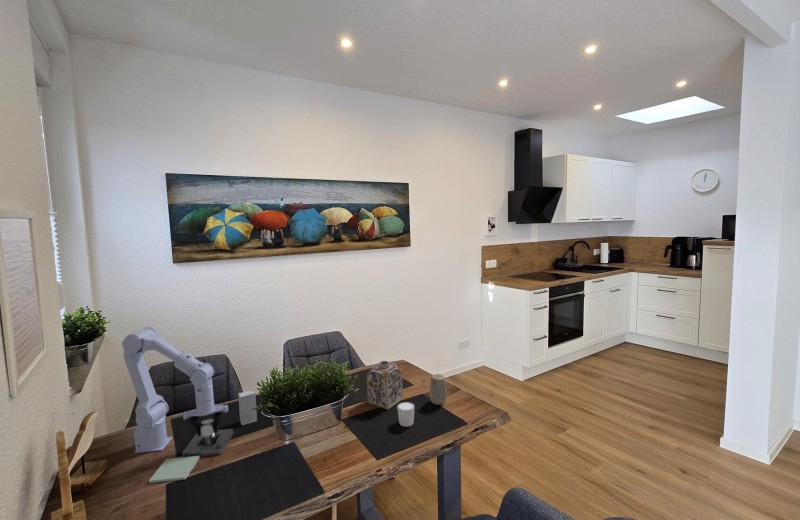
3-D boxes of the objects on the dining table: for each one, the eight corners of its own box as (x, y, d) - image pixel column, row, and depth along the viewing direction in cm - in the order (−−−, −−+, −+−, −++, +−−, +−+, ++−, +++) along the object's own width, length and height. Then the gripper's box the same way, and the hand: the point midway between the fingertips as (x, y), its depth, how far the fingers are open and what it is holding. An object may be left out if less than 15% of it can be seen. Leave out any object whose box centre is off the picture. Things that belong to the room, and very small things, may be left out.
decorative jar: (383, 392, 177) (382, 355, 175) (403, 399, 170) (402, 360, 168) (366, 403, 167) (365, 364, 165) (387, 410, 160) (386, 370, 158)
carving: (443, 407, 161) (442, 380, 160) (427, 403, 165) (426, 377, 164) (449, 401, 167) (448, 375, 166) (433, 397, 171) (433, 372, 169)
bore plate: (182, 457, 133) (182, 452, 132) (198, 436, 145) (197, 431, 145) (221, 454, 134) (220, 448, 134) (233, 433, 147) (232, 428, 147)
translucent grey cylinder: (199, 445, 136) (198, 427, 136) (202, 438, 141) (200, 420, 140) (215, 443, 138) (213, 425, 137) (217, 435, 143) (215, 418, 142)
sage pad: (149, 483, 120) (148, 480, 120) (166, 461, 131) (166, 459, 131) (185, 479, 121) (185, 477, 121) (199, 457, 132) (199, 455, 132)
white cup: (395, 425, 149) (394, 408, 148) (401, 416, 155) (401, 400, 154) (411, 428, 146) (410, 411, 145) (417, 419, 152) (416, 403, 152)
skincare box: (242, 426, 152) (239, 397, 151) (239, 421, 156) (237, 393, 154) (257, 421, 155) (255, 393, 154) (255, 416, 159) (253, 389, 158)
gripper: (227, 390, 144) (230, 423, 145) (185, 396, 139) (188, 431, 141) (225, 398, 137) (228, 433, 138) (180, 405, 133) (184, 441, 134)
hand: (208, 433), depth 139 cm, fingers closed on translucent grey cylinder, 5 cm apart
